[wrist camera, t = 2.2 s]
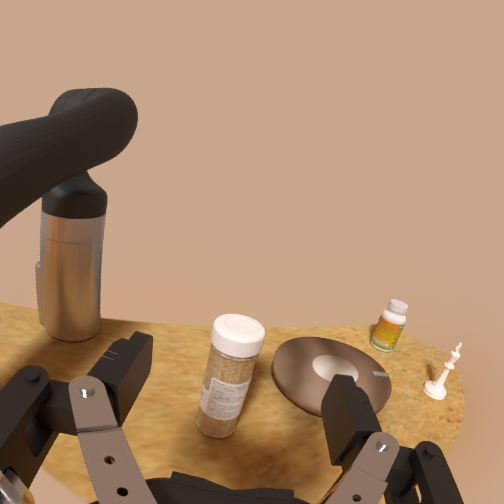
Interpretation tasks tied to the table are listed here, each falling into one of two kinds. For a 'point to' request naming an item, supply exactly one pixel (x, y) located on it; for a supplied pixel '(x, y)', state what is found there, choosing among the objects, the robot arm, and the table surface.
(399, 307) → the supplement bottle
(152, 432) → the table surface
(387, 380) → the turntable platter
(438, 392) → the chess piece
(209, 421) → the sprinkles bottle
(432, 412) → the table surface
